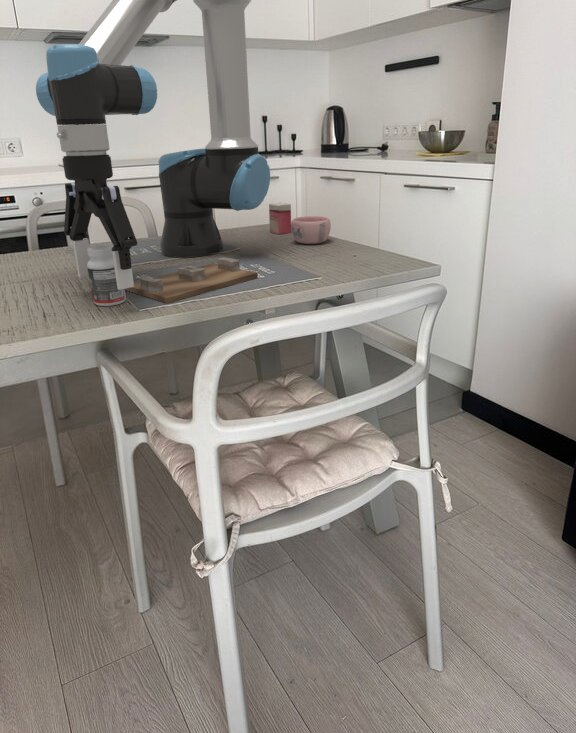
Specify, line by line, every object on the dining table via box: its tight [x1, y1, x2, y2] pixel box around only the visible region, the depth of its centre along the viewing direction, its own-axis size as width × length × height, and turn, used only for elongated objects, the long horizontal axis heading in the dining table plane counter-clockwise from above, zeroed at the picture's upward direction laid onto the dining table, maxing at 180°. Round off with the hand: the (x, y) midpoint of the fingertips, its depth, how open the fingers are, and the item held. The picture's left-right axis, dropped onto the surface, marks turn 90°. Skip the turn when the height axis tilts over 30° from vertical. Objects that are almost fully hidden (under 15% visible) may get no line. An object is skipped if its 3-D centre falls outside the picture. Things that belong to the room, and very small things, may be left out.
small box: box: [268, 202, 292, 235], centre depth 159 cm, size 5×4×8 cm
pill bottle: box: [87, 244, 127, 307], centre depth 101 cm, size 6×6×10 cm
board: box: [125, 257, 258, 304], centre depth 112 cm, size 14×22×3 cm, turn 136°
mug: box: [291, 215, 332, 245], centre depth 146 cm, size 12×10×6 cm
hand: (105, 281), depth 101 cm, fingers open, 13 cm apart
